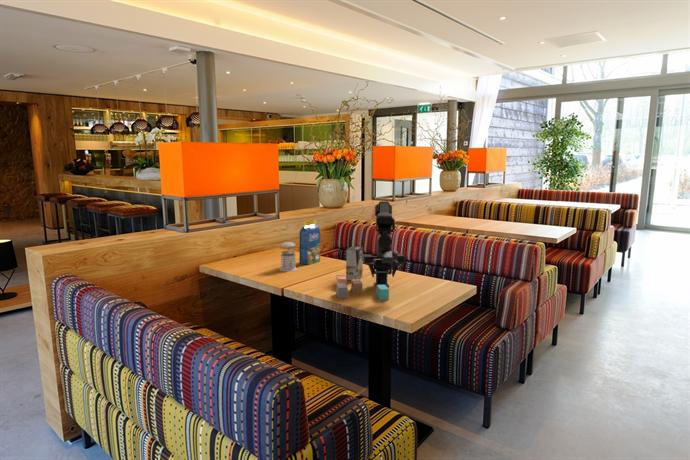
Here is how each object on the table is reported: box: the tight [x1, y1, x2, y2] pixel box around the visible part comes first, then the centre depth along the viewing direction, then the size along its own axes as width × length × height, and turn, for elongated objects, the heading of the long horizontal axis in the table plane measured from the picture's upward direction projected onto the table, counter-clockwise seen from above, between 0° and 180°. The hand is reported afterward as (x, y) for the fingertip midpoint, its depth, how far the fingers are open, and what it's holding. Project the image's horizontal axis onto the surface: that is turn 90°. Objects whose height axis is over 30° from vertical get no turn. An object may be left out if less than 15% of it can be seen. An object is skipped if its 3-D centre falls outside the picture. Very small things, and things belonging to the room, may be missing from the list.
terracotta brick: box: [335, 274, 348, 287], centre depth 219 cm, size 7×4×5 cm, turn 9°
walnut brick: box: [350, 278, 363, 295], centre depth 212 cm, size 7×4×5 cm, turn 9°
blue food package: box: [299, 219, 321, 266], centre depth 264 cm, size 6×12×25 cm, turn 146°
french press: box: [279, 224, 298, 272], centre depth 248 cm, size 10×12×25 cm
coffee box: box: [345, 245, 364, 281], centre depth 233 cm, size 9×6×16 cm
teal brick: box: [376, 285, 390, 301], centre depth 204 cm, size 7×4×5 cm, turn 9°
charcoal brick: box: [335, 283, 349, 300], centre depth 205 cm, size 7×4×5 cm, turn 9°
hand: (383, 277), depth 203 cm, fingers open, 9 cm apart
